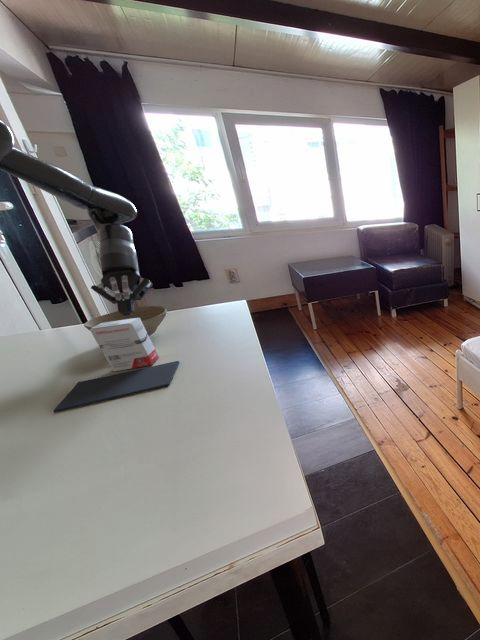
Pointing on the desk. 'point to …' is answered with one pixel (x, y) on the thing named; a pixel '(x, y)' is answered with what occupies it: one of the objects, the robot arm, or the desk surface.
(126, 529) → the desk surface
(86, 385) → the mat
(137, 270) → the robot arm
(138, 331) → the ink box
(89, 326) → the bowl
